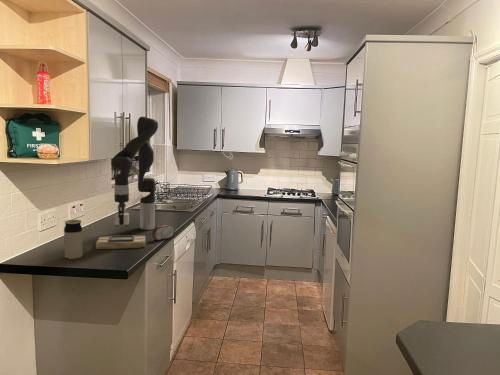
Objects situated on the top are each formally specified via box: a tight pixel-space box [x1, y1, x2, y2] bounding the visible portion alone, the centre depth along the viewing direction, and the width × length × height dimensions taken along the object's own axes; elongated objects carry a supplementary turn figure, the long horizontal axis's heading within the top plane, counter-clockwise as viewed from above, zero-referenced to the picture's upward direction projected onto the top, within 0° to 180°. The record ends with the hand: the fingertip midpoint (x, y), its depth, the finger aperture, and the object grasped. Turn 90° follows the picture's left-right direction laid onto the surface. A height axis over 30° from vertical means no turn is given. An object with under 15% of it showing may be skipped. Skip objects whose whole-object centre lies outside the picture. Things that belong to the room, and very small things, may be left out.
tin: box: [151, 223, 175, 241], centre depth 232 cm, size 15×3×8 cm, turn 141°
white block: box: [114, 212, 130, 228], centre depth 216 cm, size 5×7×7 cm
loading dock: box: [95, 234, 146, 250], centre depth 217 cm, size 15×25×4 cm, turn 103°
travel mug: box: [63, 219, 84, 260], centre depth 192 cm, size 8×8×18 cm
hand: (121, 223), depth 216 cm, fingers closed on white block, 5 cm apart
